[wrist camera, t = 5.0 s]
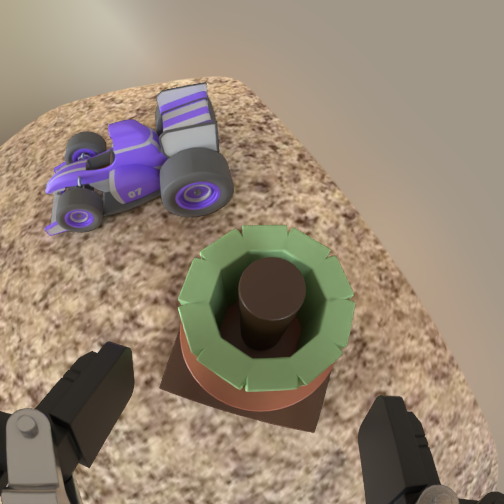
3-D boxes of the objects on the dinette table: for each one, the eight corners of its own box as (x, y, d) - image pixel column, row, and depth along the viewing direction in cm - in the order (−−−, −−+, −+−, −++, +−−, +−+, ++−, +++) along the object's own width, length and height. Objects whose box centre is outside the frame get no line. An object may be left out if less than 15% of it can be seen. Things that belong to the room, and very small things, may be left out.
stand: (341, 295, 20) (415, 207, 11) (309, 430, 16) (379, 464, 7) (211, 259, 21) (188, 147, 12) (165, 388, 17) (84, 378, 8)
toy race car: (60, 163, 25) (32, 115, 19) (213, 125, 27) (208, 65, 21) (49, 253, 21) (4, 208, 15) (235, 210, 23) (233, 147, 17)
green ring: (332, 289, 16) (364, 246, 12) (304, 406, 14) (332, 411, 9) (222, 259, 17) (214, 206, 12) (182, 371, 14) (154, 360, 10)
